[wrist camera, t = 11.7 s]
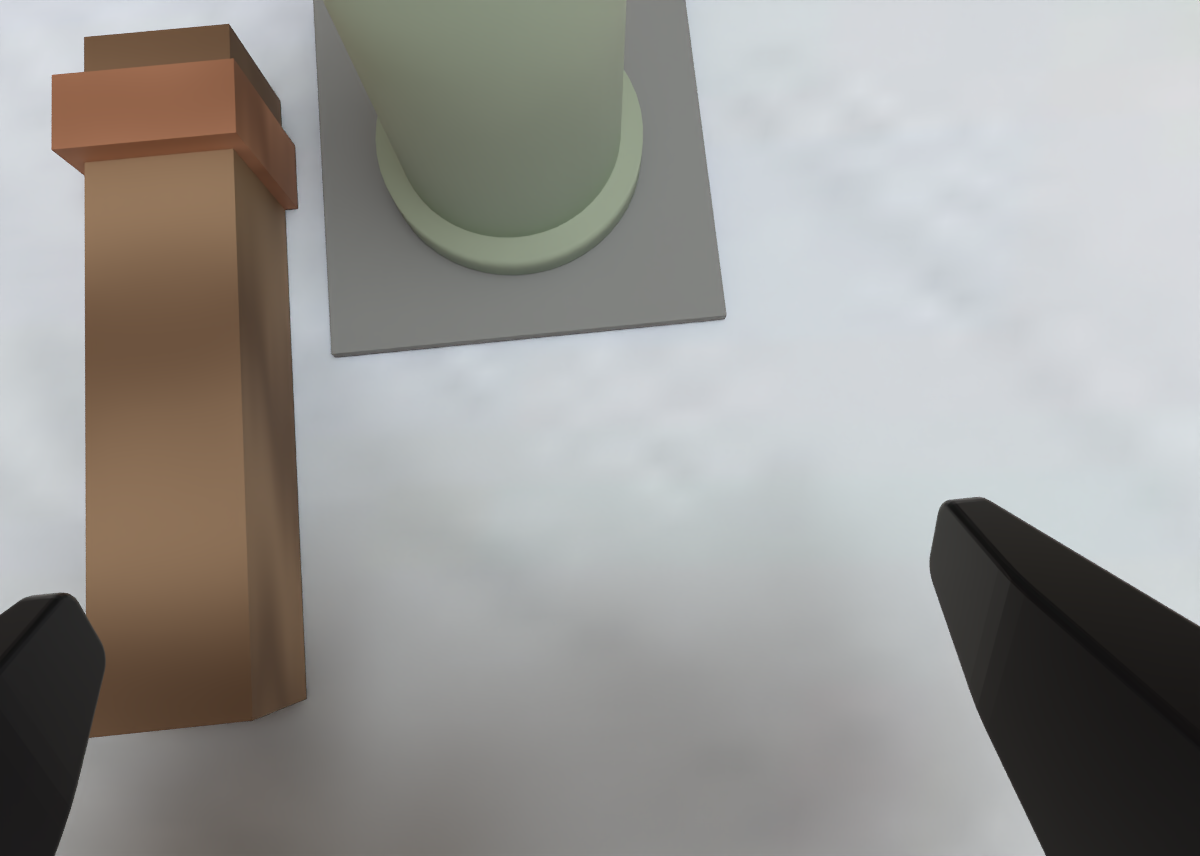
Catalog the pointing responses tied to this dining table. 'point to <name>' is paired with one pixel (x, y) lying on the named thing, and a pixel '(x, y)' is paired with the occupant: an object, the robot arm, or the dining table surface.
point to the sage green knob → (500, 122)
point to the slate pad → (530, 301)
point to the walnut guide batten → (186, 379)
